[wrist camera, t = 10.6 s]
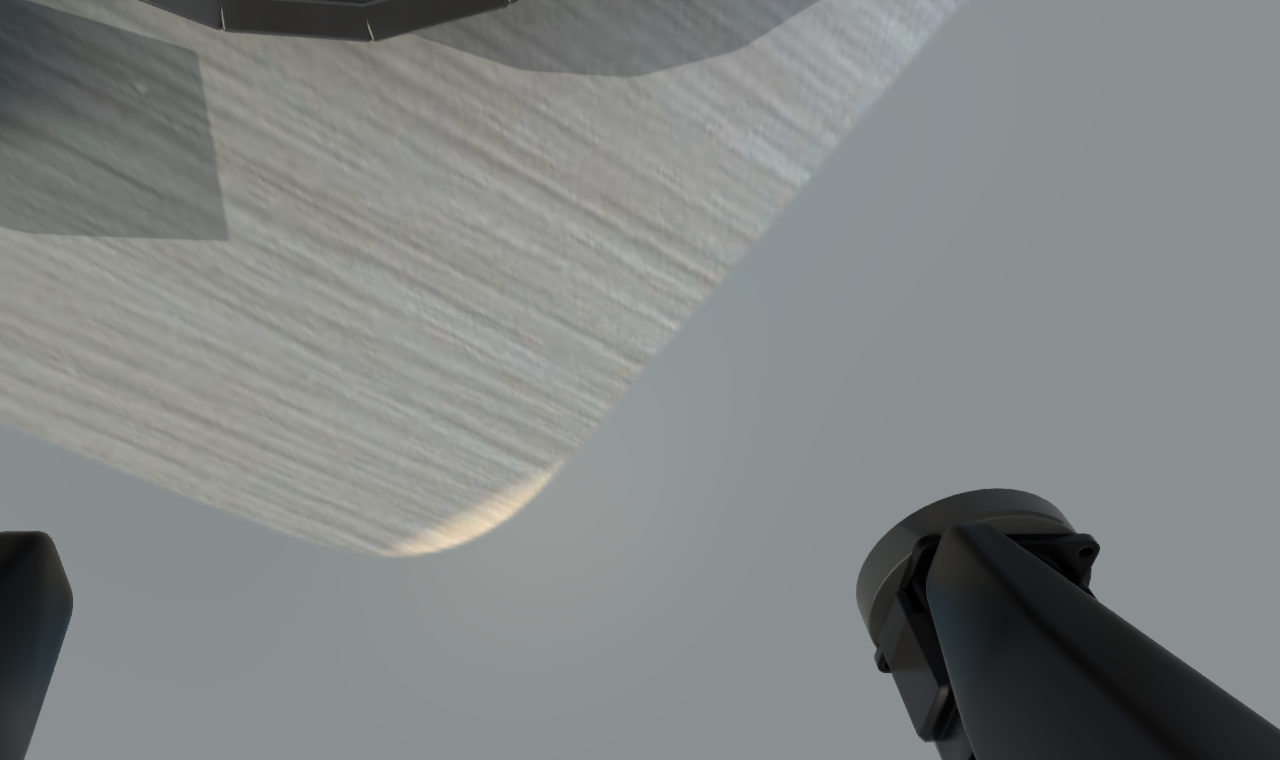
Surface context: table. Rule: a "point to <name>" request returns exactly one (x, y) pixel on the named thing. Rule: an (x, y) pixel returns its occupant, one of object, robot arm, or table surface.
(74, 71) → the table surface
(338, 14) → the pan
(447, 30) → the table surface
